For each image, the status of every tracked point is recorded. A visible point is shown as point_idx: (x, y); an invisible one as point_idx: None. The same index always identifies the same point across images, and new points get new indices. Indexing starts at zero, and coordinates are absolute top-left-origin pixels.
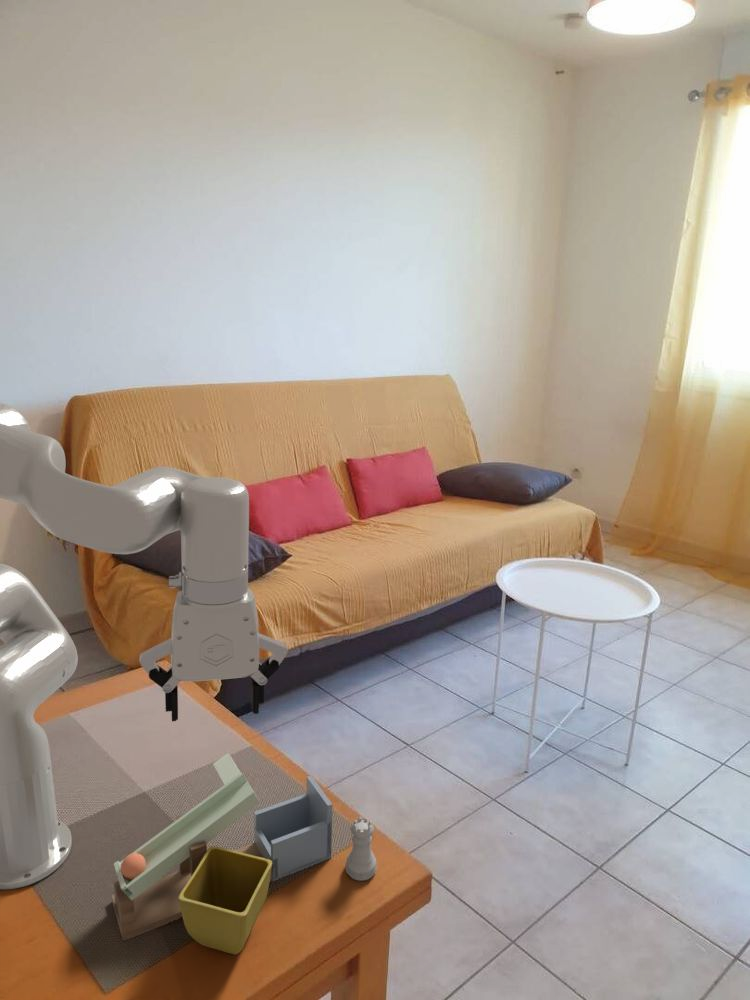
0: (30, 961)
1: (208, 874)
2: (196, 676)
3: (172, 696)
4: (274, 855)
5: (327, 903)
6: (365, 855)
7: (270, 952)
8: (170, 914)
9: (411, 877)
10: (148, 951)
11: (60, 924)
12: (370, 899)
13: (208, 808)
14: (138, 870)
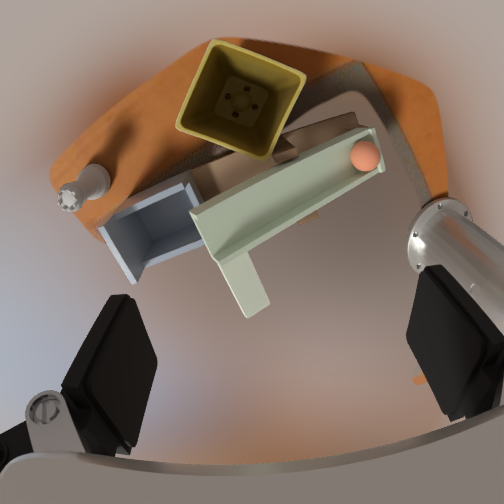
0: (425, 112)
1: (267, 139)
2: (494, 453)
3: (494, 331)
4: (182, 178)
5: (130, 135)
6: (79, 178)
7: (192, 75)
8: (307, 129)
9: (51, 169)
10: (325, 94)
11: (408, 147)
12: (87, 140)
13: (273, 221)
14: (360, 143)
